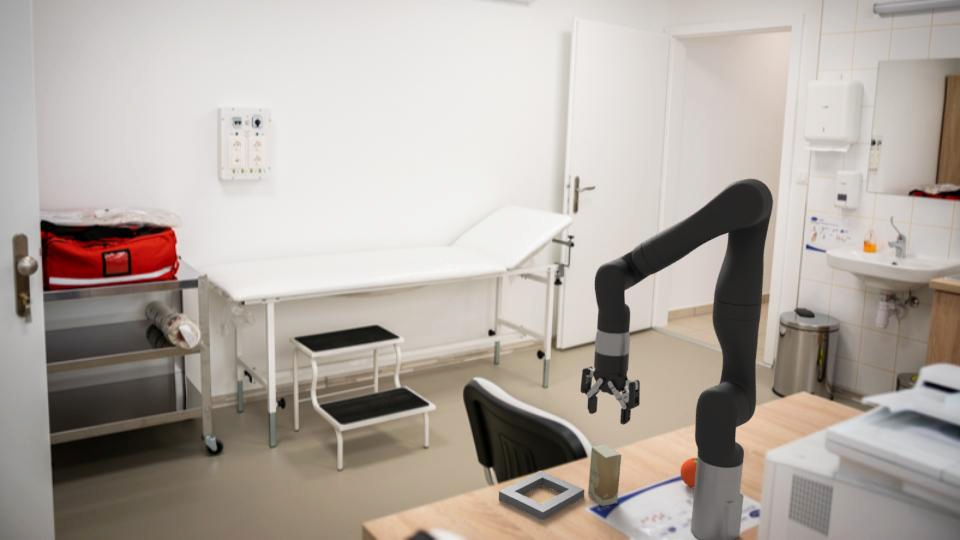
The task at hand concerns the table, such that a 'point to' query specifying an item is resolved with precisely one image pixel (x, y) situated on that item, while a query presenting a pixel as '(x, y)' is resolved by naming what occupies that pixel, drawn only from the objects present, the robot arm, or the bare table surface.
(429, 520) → the table surface
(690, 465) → the clementine
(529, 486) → the holder
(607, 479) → the skincare box
